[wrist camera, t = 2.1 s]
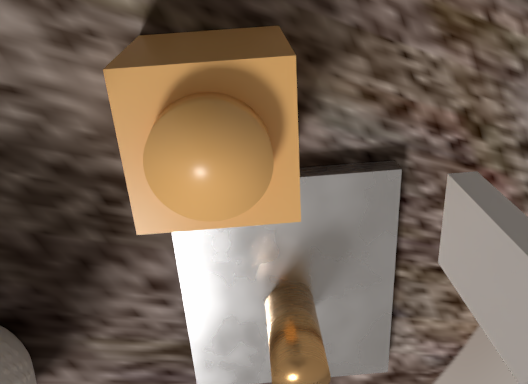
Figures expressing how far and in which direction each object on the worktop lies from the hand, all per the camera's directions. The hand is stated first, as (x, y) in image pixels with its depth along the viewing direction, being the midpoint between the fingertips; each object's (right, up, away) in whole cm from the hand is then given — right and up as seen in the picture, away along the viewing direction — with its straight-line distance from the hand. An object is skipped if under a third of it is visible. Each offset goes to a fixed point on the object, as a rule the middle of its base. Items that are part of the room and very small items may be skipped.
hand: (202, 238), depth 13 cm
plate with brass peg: (+3, -4, +16) cm, 17 cm away
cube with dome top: (-1, +6, +11) cm, 12 cm away
